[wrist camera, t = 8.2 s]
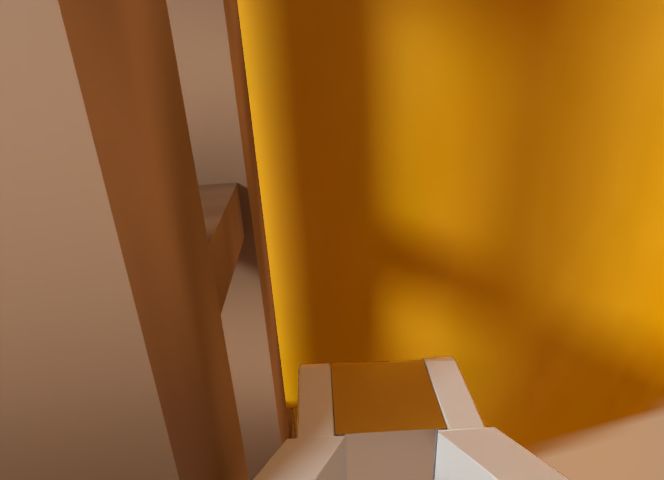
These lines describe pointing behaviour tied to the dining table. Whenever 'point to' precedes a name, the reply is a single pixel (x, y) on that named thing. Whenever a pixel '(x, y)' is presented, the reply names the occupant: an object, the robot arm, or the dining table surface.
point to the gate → (132, 247)
